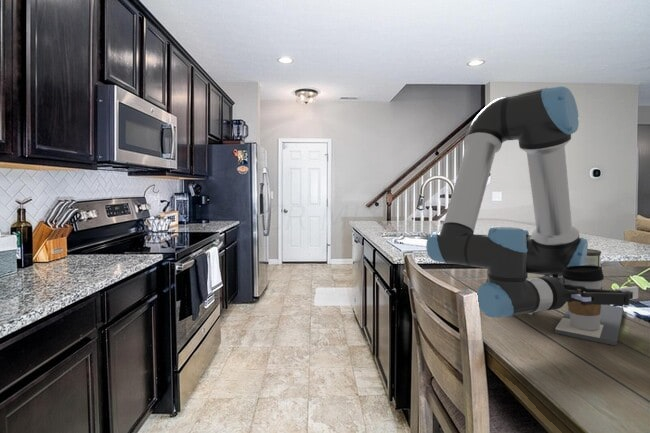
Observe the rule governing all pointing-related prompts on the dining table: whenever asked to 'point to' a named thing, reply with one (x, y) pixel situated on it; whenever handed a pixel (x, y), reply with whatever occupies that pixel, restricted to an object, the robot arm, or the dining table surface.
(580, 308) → the coffee cup
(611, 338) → the mat
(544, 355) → the dining table surface
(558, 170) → the robot arm
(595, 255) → the coffee can
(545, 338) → the dining table surface
